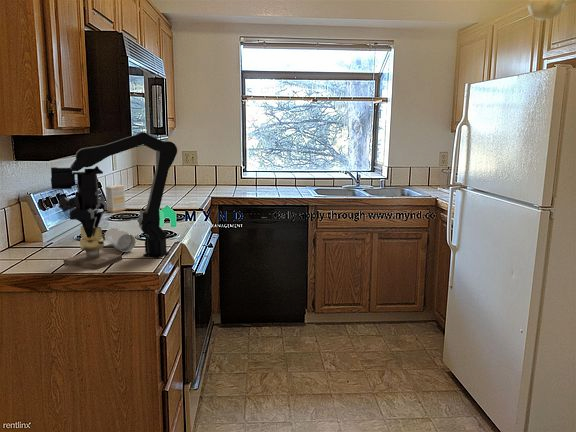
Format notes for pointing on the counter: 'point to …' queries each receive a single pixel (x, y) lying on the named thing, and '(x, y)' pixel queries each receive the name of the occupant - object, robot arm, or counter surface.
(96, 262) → the base
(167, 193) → the counter surface
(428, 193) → the counter surface
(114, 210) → the supplement box
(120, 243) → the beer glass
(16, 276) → the counter surface
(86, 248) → the cap
